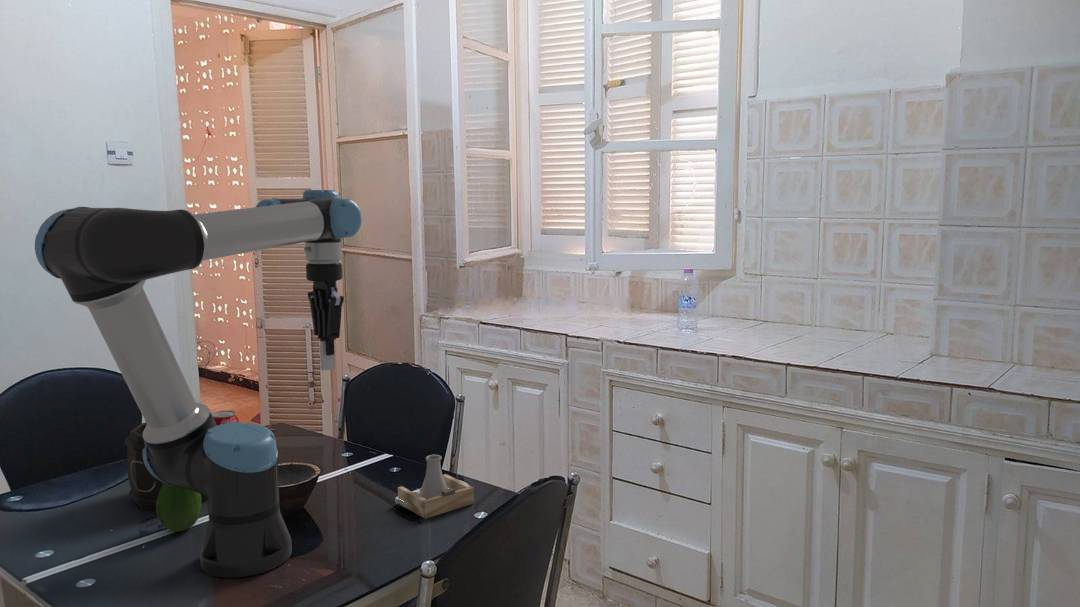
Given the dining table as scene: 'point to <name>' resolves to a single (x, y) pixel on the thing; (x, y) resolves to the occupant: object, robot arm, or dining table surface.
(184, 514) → the avocado
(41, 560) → the dining table surface
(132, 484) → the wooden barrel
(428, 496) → the flask
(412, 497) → the u-shaped wooden frame
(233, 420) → the soda can
